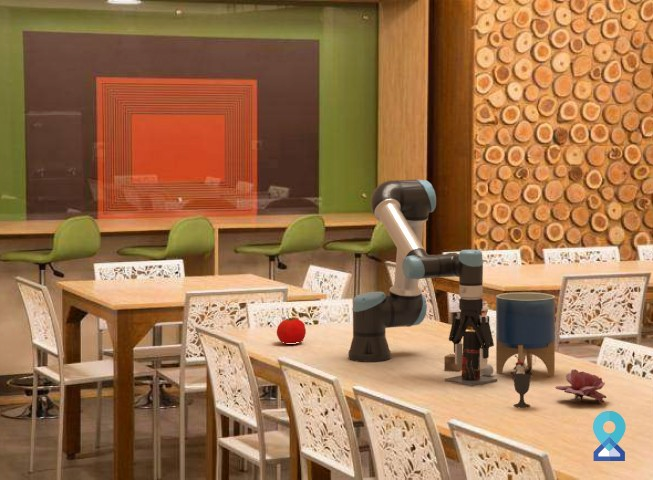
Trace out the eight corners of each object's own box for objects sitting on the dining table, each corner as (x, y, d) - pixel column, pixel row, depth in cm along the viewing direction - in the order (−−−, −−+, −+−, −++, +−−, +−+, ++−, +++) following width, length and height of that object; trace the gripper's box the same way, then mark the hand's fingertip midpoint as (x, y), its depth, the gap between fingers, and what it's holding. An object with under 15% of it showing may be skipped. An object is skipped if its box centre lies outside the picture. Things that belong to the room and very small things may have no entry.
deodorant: (479, 380, 402) (481, 334, 401) (460, 379, 403) (462, 333, 402) (480, 377, 408) (482, 331, 406) (462, 376, 409) (464, 330, 408)
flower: (574, 400, 362) (580, 366, 364) (546, 397, 376) (552, 364, 377) (616, 410, 368) (622, 376, 369) (587, 406, 381) (592, 374, 383)
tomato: (312, 342, 482) (312, 316, 481) (294, 347, 471) (293, 321, 470) (288, 340, 488) (288, 314, 487) (270, 345, 477) (269, 319, 476)
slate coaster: (444, 381, 406) (444, 378, 406) (470, 376, 414) (470, 373, 414) (472, 386, 397) (472, 384, 397) (497, 381, 405) (497, 378, 405)
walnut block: (444, 370, 424) (444, 356, 423) (450, 368, 428) (450, 353, 428) (458, 372, 421) (458, 357, 421) (463, 369, 426) (463, 355, 425)
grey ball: (478, 376, 414) (478, 364, 413) (486, 374, 416) (486, 362, 416) (487, 377, 411) (487, 365, 410) (495, 376, 413) (495, 364, 413)
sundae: (507, 403, 372) (507, 354, 370) (530, 403, 372) (530, 353, 371) (513, 408, 365) (513, 358, 364) (535, 408, 366) (535, 357, 364)
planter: (558, 370, 421) (559, 293, 419) (549, 381, 403) (550, 301, 401) (502, 367, 427) (502, 291, 425) (490, 378, 409) (490, 298, 407)
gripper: (437, 295, 409) (437, 362, 411) (489, 302, 392) (489, 372, 394) (453, 293, 414) (453, 359, 416) (505, 300, 397) (505, 369, 399)
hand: (471, 365), depth 405 cm, fingers open, 10 cm apart
